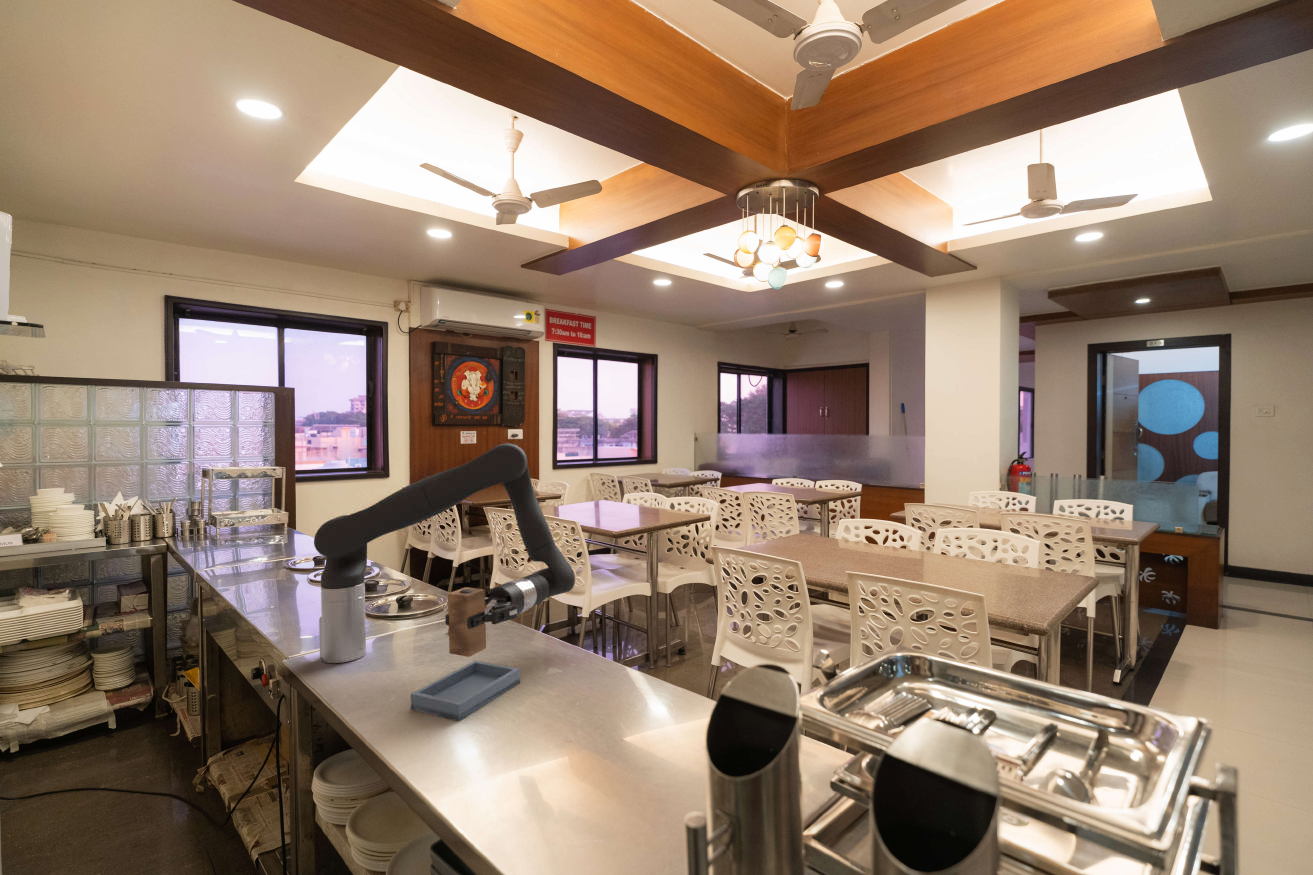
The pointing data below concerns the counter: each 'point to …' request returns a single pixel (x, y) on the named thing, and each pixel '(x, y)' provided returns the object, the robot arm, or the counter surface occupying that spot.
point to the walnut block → (459, 611)
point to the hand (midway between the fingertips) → (457, 621)
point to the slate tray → (465, 690)
